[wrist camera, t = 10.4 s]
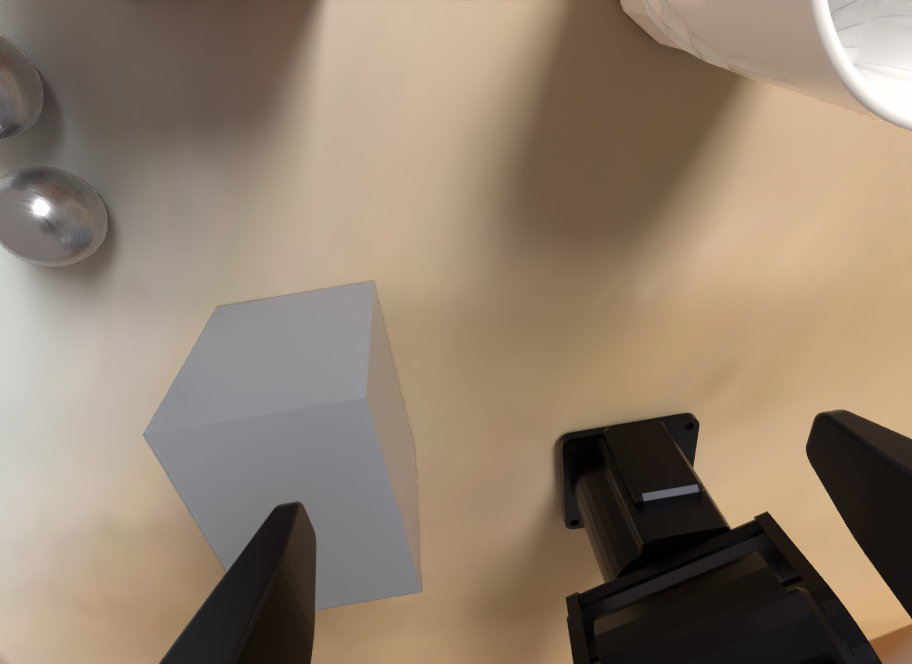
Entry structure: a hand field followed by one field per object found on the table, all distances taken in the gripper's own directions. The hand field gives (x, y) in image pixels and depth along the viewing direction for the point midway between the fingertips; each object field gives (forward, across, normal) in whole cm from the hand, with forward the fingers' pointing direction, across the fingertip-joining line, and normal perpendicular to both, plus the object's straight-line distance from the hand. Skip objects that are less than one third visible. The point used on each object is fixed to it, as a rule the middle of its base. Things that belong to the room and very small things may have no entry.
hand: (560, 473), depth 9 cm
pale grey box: (+12, +7, +6) cm, 15 cm away
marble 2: (+12, +13, -3) cm, 18 cm away
